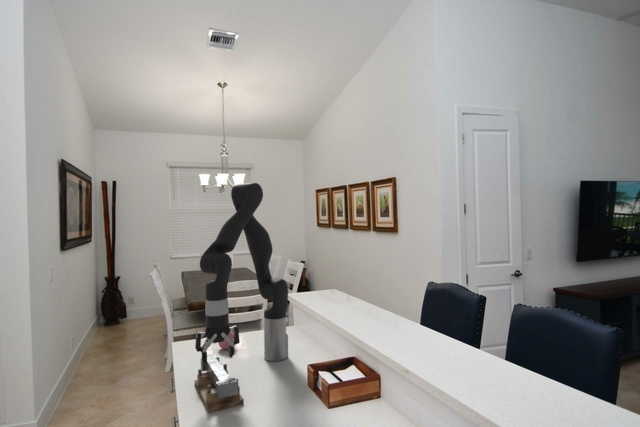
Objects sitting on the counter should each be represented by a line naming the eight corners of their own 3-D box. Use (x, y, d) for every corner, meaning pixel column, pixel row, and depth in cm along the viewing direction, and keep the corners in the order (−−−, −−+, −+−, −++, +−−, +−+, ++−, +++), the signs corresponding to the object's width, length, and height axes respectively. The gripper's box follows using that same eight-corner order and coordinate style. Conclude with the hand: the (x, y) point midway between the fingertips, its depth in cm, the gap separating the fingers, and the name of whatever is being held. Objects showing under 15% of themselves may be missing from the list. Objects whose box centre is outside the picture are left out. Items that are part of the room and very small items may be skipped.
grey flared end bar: (217, 365, 140) (217, 354, 140) (237, 394, 118) (237, 381, 118) (200, 368, 137) (200, 357, 137) (218, 398, 115) (218, 385, 115)
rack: (225, 377, 140) (225, 360, 140) (243, 403, 121) (243, 383, 121) (194, 384, 134) (194, 366, 134) (208, 412, 115) (208, 391, 115)
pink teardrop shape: (229, 352, 165) (229, 325, 165) (214, 350, 168) (214, 323, 168) (238, 346, 173) (238, 320, 173) (224, 344, 175) (223, 319, 175)
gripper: (234, 306, 134) (235, 351, 134) (193, 312, 127) (194, 360, 127) (241, 311, 128) (242, 359, 128) (197, 318, 121) (198, 368, 121)
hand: (218, 359), depth 128 cm, fingers open, 8 cm apart
